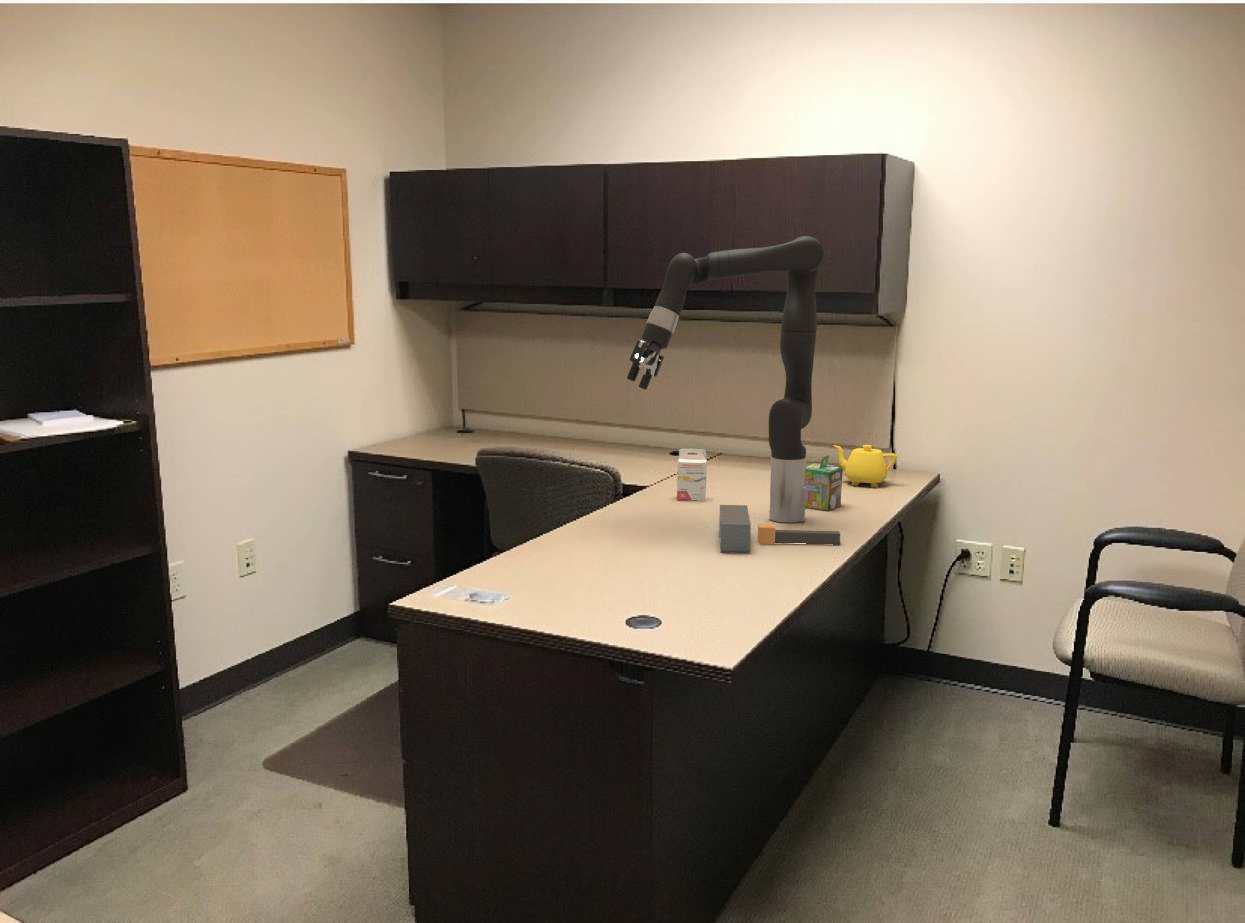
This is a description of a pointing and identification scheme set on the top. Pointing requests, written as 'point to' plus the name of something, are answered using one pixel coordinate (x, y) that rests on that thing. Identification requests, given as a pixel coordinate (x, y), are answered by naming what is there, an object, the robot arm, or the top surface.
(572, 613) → the top surface
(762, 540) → the plug
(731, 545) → the mallet head
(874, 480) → the teapot
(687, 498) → the ink cartridge box
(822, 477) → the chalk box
